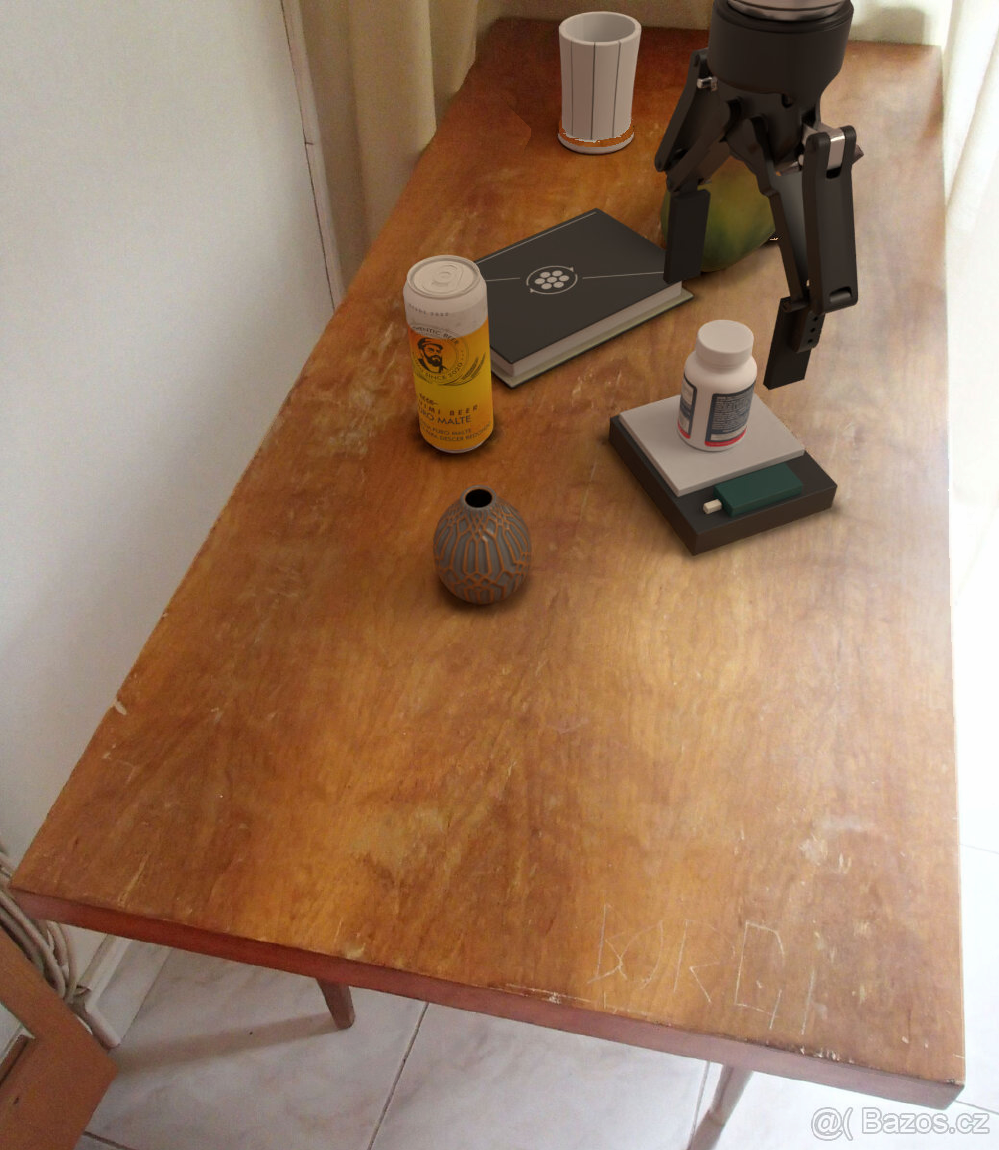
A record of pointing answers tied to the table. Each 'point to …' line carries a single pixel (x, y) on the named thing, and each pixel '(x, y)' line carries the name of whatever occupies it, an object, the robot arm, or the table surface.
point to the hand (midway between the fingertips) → (729, 327)
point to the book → (570, 293)
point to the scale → (721, 475)
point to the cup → (597, 77)
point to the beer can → (450, 351)
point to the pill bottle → (717, 386)
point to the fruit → (731, 216)
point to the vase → (482, 547)
